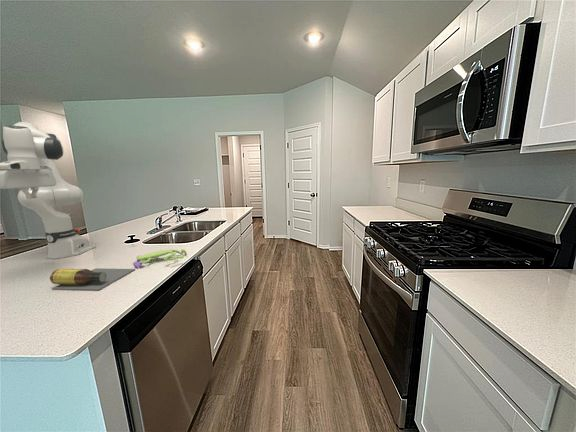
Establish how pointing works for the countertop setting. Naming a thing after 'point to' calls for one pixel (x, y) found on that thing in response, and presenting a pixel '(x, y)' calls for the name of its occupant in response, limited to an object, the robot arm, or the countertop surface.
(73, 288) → the rubber mat
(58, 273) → the sauce bottle
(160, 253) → the figurine
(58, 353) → the countertop surface
